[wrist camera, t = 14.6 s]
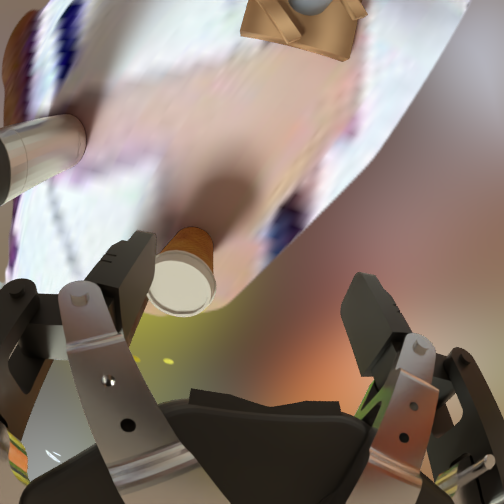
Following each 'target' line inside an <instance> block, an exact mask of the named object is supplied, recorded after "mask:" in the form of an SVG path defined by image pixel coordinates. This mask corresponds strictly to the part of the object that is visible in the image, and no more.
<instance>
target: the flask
mask: <svg viewBox="0 0 504 504" xmlns="http://www.w3.org/2000/svg"><path fill="white" fill-rule="evenodd" d="M331 1H332V0H288V2H289V4H290V6H291V7H292V8H293V9H294V10H295V11H296V12H298V13H300V14H303V15H308V16H313V15H318V14H320V13H322V12H323V11H324V10H325V9H326V7H327V6H328V5H329V4H330V3H331Z"/></svg>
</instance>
